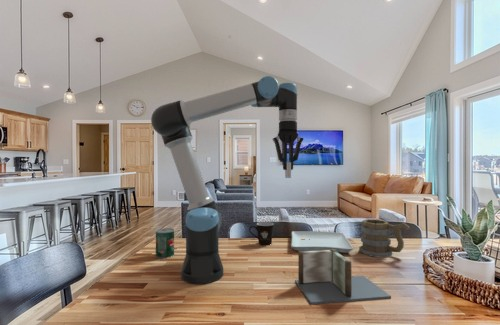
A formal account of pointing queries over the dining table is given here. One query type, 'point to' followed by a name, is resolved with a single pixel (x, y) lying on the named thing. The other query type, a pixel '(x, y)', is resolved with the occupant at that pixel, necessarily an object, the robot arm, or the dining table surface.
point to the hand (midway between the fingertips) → (288, 177)
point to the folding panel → (342, 273)
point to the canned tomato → (164, 243)
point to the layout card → (332, 293)
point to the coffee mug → (264, 232)
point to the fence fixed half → (315, 266)
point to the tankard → (380, 237)
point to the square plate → (320, 241)
